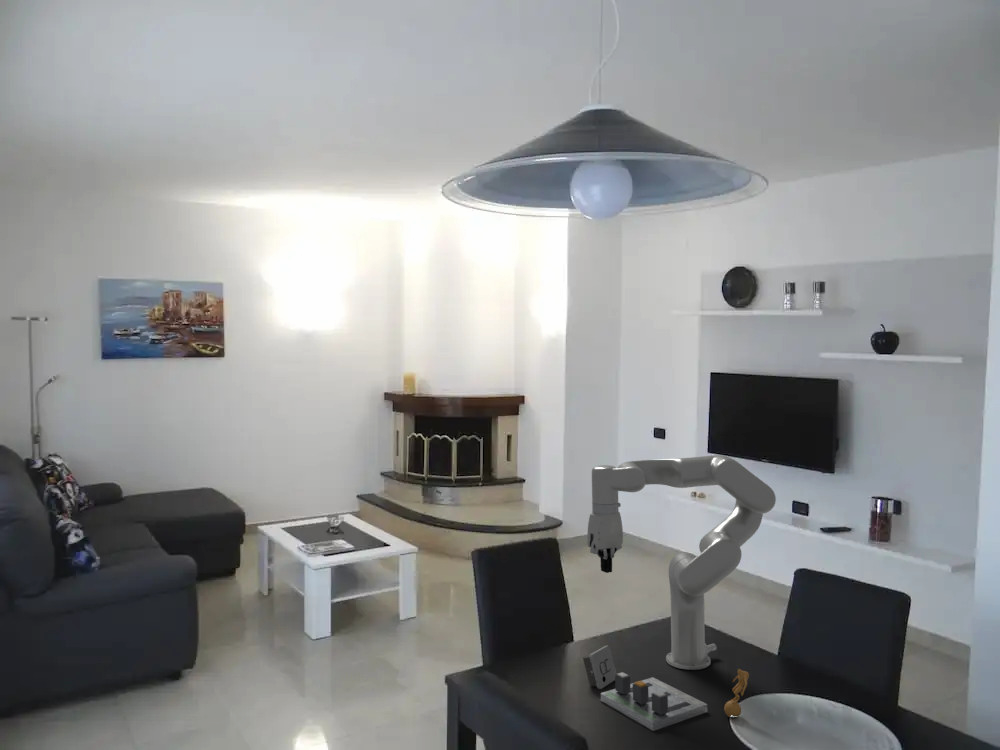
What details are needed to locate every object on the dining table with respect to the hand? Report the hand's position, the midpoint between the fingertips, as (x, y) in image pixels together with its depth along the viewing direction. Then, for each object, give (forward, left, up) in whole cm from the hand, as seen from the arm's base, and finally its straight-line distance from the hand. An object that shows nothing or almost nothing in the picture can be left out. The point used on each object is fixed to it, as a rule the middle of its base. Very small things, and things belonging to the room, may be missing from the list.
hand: (606, 571), depth 231 cm
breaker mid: (+12, +28, -25) cm, 39 cm away
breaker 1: (+12, +21, -25) cm, 35 cm away
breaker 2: (+12, +35, -25) cm, 44 cm away
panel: (+8, +28, -27) cm, 40 cm away
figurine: (-5, +44, -27) cm, 52 cm away
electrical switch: (+10, +9, -27) cm, 31 cm away
